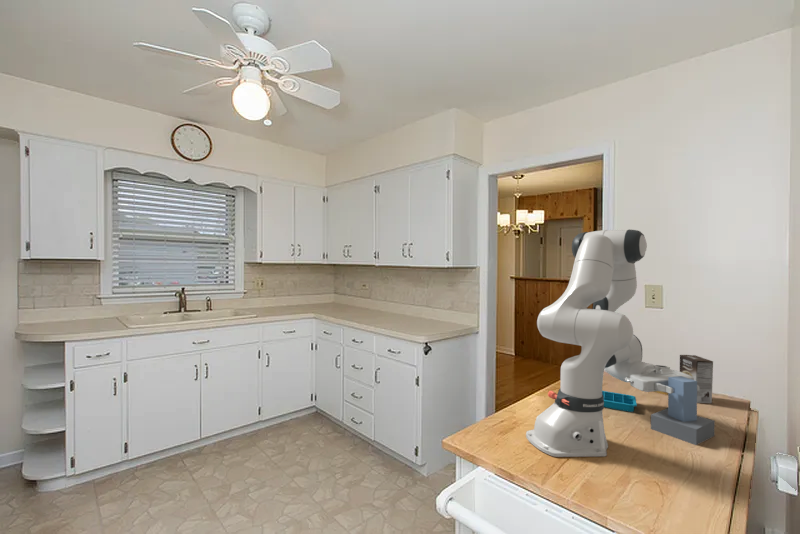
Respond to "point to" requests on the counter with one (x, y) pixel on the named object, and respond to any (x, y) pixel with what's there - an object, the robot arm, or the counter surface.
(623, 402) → the ice cube tray
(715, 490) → the counter surface
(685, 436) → the charcoal block
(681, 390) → the slate-blue block
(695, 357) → the coffee box
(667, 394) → the shard
